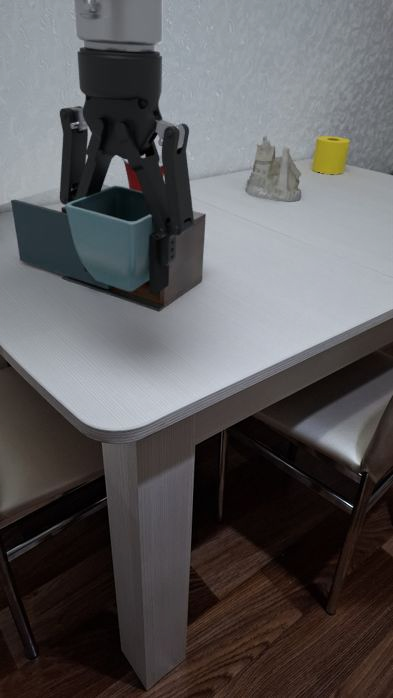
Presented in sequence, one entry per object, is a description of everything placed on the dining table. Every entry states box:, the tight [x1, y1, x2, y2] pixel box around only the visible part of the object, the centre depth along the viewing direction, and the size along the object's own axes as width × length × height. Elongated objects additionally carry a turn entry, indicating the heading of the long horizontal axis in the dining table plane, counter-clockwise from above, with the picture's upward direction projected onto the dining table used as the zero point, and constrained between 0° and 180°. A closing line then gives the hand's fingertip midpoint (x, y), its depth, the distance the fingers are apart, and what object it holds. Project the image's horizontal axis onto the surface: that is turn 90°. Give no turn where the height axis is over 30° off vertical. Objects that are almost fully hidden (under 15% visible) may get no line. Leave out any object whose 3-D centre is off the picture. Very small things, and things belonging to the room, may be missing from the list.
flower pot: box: [64, 185, 156, 291], centre depth 55 cm, size 9×9×9 cm
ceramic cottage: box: [245, 135, 302, 202], centre depth 134 cm, size 16×16×15 cm
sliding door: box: [10, 198, 111, 290], centre depth 83 cm, size 2×20×11 cm, turn 60°
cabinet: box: [60, 206, 207, 312], centre depth 84 cm, size 13×20×12 cm
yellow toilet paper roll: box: [311, 135, 351, 175], centre depth 159 cm, size 10×10×9 cm
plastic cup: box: [121, 152, 164, 192], centre depth 117 cm, size 11×11×12 cm
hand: (125, 278), depth 57 cm, fingers closed on flower pot, 8 cm apart
